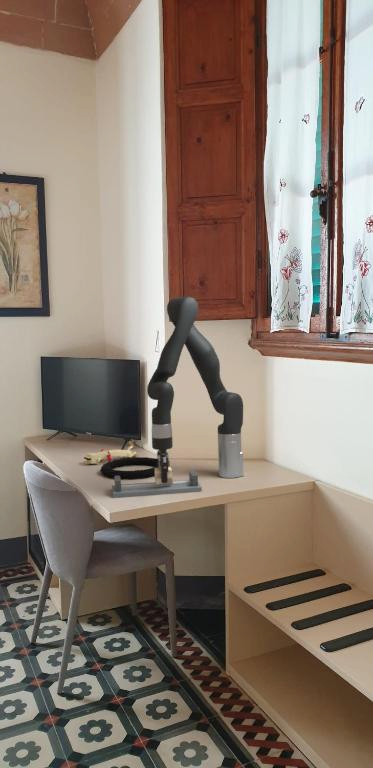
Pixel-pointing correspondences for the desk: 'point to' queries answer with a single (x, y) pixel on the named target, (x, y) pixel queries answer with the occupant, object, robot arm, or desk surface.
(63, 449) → the desk surface
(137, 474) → the cable lock
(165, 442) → the robot arm
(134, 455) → the cat figure
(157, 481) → the keeper
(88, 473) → the desk surface
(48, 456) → the desk surface
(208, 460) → the desk surface
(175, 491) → the rail board
